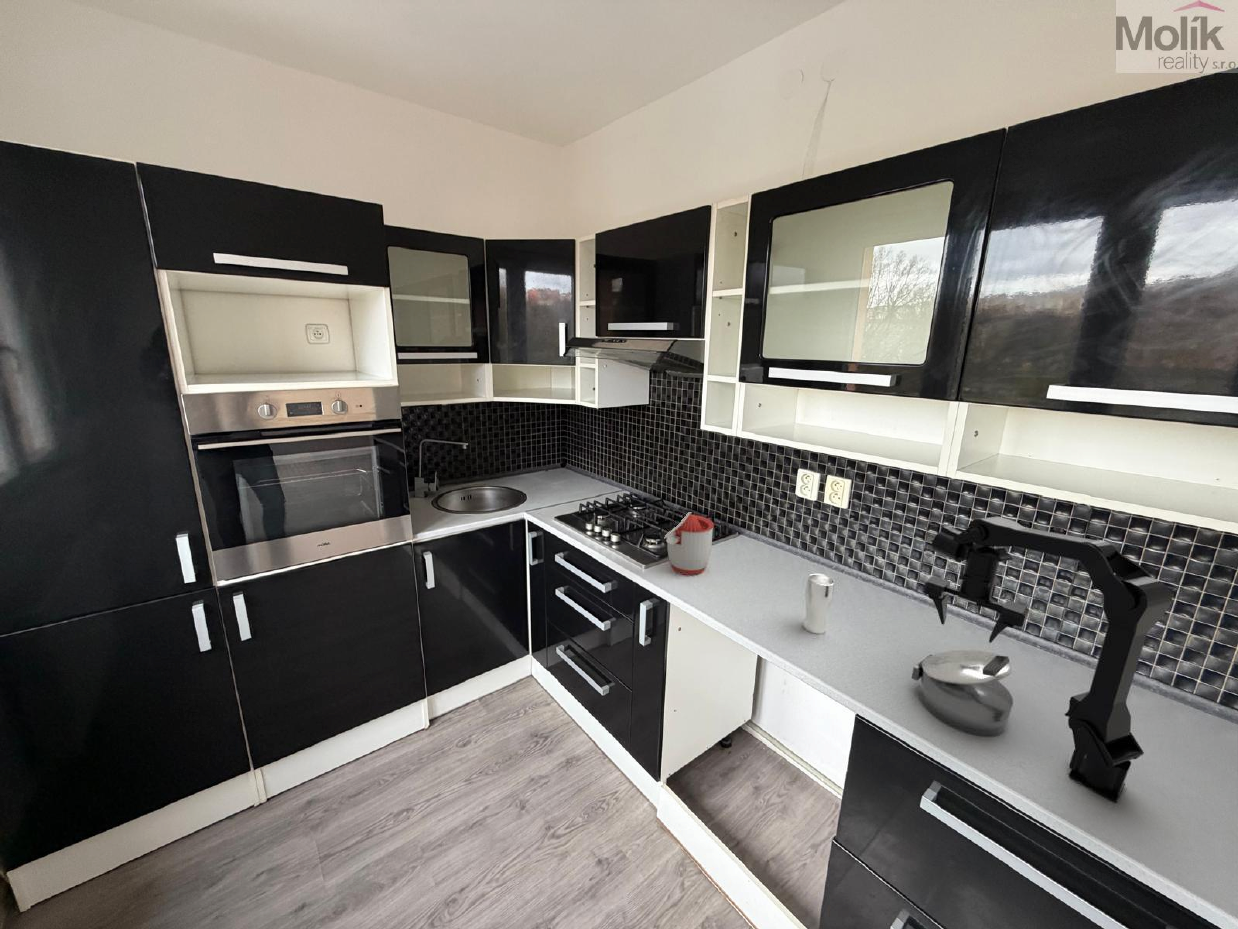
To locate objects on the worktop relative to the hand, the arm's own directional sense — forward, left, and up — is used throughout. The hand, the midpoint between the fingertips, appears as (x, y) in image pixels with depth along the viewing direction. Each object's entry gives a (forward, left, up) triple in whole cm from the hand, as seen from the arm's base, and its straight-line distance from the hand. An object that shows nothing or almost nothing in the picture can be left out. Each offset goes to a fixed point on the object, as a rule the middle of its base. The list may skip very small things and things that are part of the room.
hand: (966, 632), depth 111 cm
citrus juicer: (+78, +14, -13) cm, 80 cm away
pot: (-4, +8, -13) cm, 16 cm away
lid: (-3, +9, -4) cm, 10 cm away
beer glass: (+32, +8, -13) cm, 35 cm away
